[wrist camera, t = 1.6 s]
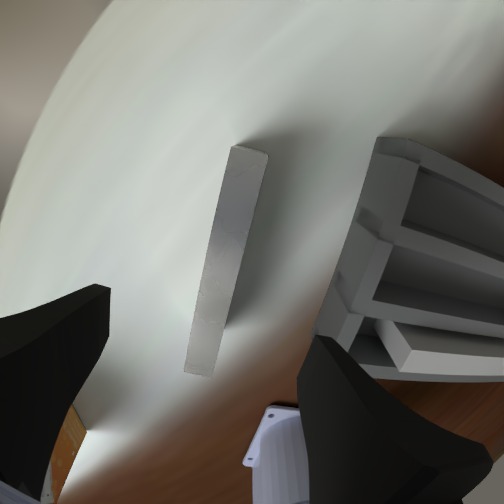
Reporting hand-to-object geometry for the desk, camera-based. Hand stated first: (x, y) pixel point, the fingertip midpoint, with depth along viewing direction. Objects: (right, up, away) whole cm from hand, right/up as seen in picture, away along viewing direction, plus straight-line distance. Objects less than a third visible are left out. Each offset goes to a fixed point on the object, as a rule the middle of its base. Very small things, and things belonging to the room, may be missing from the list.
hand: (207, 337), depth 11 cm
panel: (0, +3, +9) cm, 10 cm away
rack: (+17, +1, +10) cm, 20 cm away
